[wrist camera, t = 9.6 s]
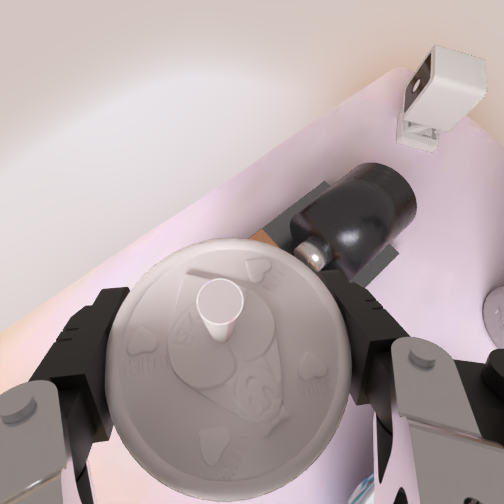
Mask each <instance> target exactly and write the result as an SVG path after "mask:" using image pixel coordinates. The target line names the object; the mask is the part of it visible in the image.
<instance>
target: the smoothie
mask: <svg viewBox="0 0 504 504" xmlns="http://www.w3.org/2000/svg"><path fill="white" fill-rule="evenodd" d="M351 375H352V359H351V348H350V343H349V338H348V333H347V329H346V325H345V322H344V319H343V317H342V314H341V312H340V310H339V307H338V305H337V303H336V302H335V300H334V298H333V296H332V295H331V293H330V292H329V290H328V289H327V287H326V286H325V285H324V283H323V282H322V281H321V280H320V278H319V277H318V276H317V275H316V274H315V273H314V272H313V271H312V270H311V269H310V268H309V267H307V266H306V265H305V264H304V263H303V262H301V261H300V260H298V259H297V258H296V257H294V256H293V255H291V254H289V253H287V252H286V251H284V250H282V249H279V248H277V247H275V246H272V245H270V244H267V243H264V242H260V241H256V240H250V239H243V238H219V239H212V240H206V241H202V242H199V243H195V244H192V245H189V246H187V247H184V248H182V249H180V250H178V251H176V252H174V253H172V254H171V255H169V256H167V257H166V258H164V259H163V260H161V261H160V262H159V263H157V264H156V265H154V266H153V267H152V268H151V269H150V270H149V271H148V272H147V273H145V275H144V276H143V277H142V278H141V279H140V280H139V281H138V282H137V283H136V284H135V286H134V287H133V288H132V290H131V291H130V292H129V294H128V295H127V297H126V298H125V300H124V302H123V303H122V305H121V307H120V309H119V311H118V313H117V315H116V318H115V320H114V322H113V325H112V328H111V331H110V334H109V338H108V342H107V349H106V363H105V394H106V399H107V404H108V408H109V412H110V415H111V418H112V421H113V423H114V426H115V428H116V431H117V433H118V435H119V436H120V438H121V440H122V442H123V444H124V445H125V447H126V448H127V450H128V451H129V453H130V454H131V455H132V457H133V458H134V459H135V460H136V461H137V462H138V463H139V465H140V466H141V467H142V468H143V469H144V470H146V471H147V472H148V473H149V474H150V475H151V476H152V477H154V478H155V479H157V480H158V481H159V482H161V483H162V484H164V485H166V486H168V487H169V488H171V489H173V490H175V491H177V492H180V493H182V494H185V495H187V496H190V497H194V498H198V499H202V500H209V501H219V502H231V501H240V500H247V499H251V498H255V497H259V496H262V495H265V494H267V493H270V492H273V491H275V490H277V489H279V488H281V487H283V486H285V485H286V484H288V483H289V482H291V481H292V480H294V479H295V478H297V477H298V476H299V475H300V474H302V473H303V472H304V471H305V470H307V469H308V468H309V467H310V466H311V465H312V464H313V463H314V462H315V461H316V459H317V458H318V457H319V456H320V455H321V453H322V452H323V451H324V450H325V448H326V447H327V445H328V444H329V442H330V441H331V439H332V438H333V436H334V434H335V432H336V430H337V428H338V426H339V424H340V421H341V419H342V416H343V414H344V411H345V407H346V404H347V401H348V396H349V391H350V384H351Z"/></svg>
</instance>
